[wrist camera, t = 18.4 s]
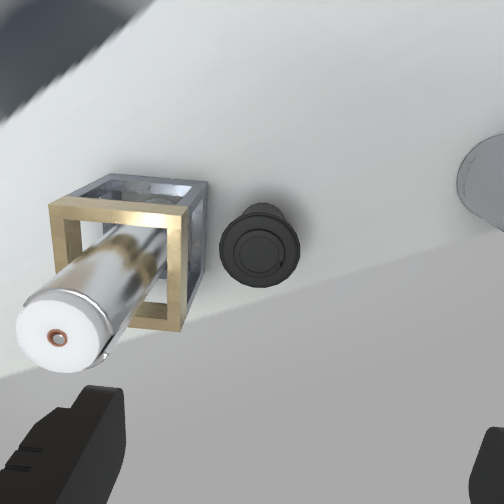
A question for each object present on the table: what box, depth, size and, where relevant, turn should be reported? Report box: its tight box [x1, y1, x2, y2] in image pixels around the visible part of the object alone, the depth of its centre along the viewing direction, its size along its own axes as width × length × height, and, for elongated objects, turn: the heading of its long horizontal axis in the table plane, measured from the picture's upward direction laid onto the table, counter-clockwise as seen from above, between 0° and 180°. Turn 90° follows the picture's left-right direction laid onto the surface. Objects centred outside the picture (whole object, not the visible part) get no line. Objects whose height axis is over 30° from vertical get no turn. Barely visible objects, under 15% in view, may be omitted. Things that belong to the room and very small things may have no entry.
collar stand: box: [48, 173, 208, 332], centre depth 44 cm, size 11×11×14 cm
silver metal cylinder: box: [15, 198, 175, 373], centre depth 39 cm, size 6×6×25 cm
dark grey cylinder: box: [219, 203, 300, 288], centre depth 45 cm, size 8×8×10 cm
